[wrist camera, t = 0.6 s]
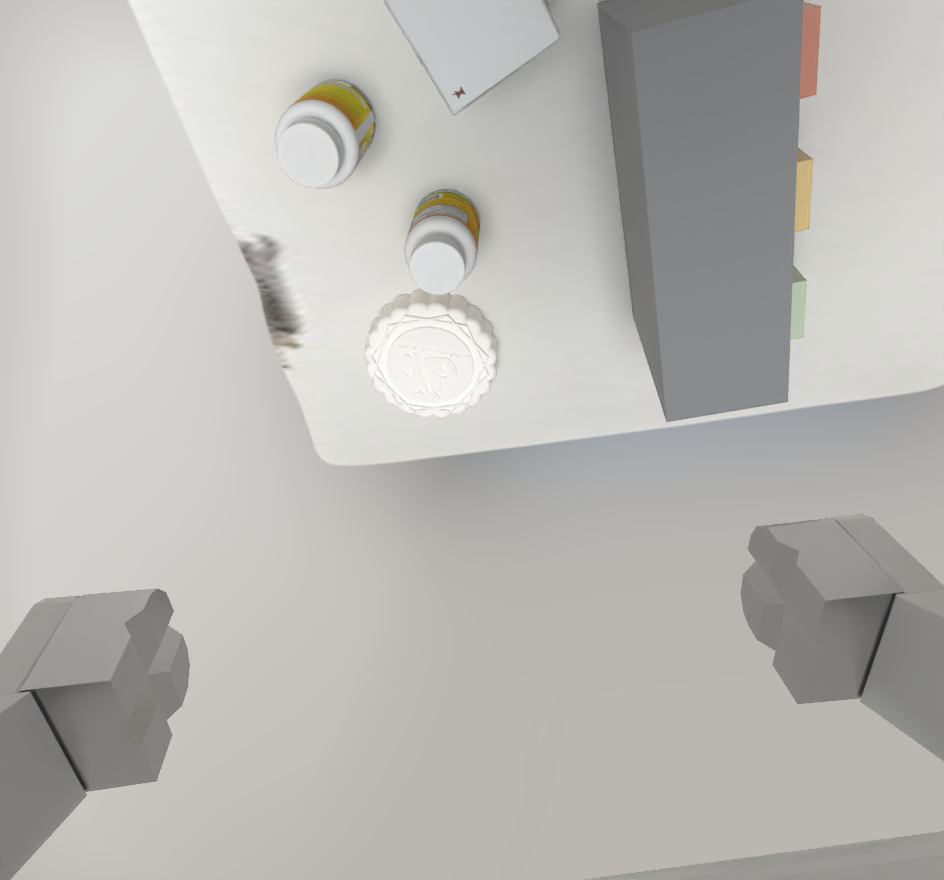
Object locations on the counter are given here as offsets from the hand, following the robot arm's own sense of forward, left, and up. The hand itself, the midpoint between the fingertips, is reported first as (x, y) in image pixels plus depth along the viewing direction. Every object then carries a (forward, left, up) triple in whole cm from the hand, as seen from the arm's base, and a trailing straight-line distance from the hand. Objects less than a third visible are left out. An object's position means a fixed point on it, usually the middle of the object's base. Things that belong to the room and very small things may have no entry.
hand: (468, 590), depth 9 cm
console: (-5, +14, -49) cm, 51 cm away
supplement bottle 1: (+12, -5, -49) cm, 50 cm away
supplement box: (-1, -4, -49) cm, 49 cm away
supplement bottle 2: (+11, +6, -49) cm, 50 cm away
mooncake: (+20, +14, -49) cm, 55 cm away
